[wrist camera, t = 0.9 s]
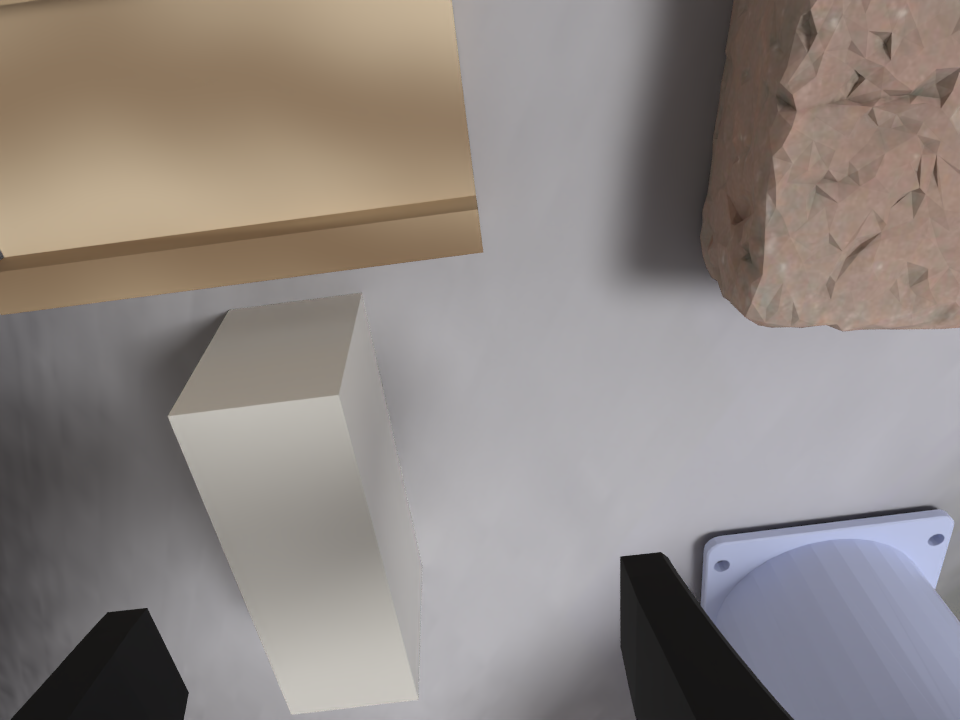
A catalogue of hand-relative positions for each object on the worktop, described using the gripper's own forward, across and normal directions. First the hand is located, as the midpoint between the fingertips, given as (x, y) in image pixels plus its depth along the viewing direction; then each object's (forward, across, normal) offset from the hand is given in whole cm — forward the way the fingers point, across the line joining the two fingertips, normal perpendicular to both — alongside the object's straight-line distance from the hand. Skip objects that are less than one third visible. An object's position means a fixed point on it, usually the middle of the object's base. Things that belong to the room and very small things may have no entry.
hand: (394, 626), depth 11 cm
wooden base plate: (+10, +4, -6) cm, 12 cm away
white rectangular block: (+10, +3, +4) cm, 11 cm away
